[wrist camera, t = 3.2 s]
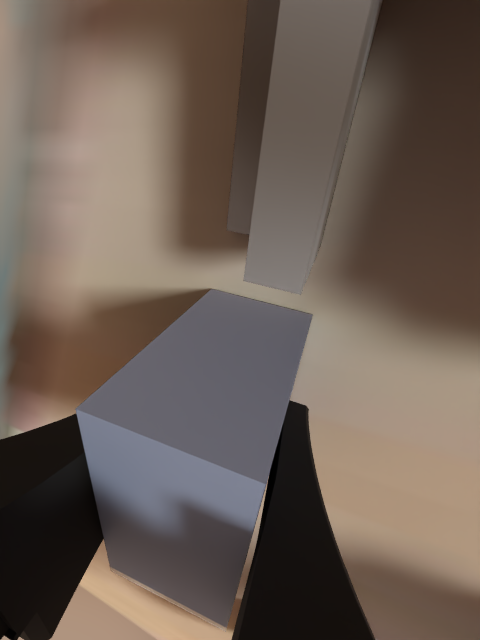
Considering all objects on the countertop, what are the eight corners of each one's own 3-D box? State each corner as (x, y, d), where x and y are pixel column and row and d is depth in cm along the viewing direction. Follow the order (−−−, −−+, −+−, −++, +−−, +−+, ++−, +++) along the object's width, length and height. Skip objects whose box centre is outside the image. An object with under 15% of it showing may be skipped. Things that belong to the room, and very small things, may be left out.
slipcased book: (276, 446, 14) (225, 631, 8) (201, 419, 15) (110, 571, 9) (312, 314, 10) (265, 484, 5) (211, 288, 11) (75, 408, 6)
